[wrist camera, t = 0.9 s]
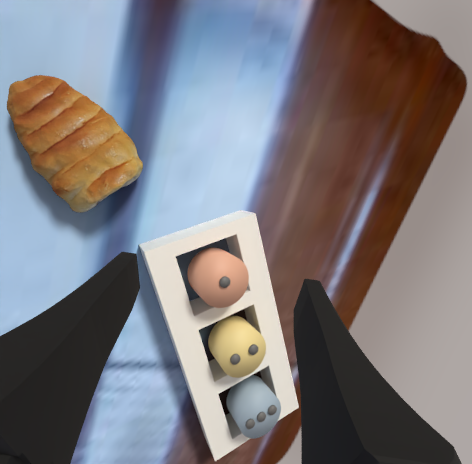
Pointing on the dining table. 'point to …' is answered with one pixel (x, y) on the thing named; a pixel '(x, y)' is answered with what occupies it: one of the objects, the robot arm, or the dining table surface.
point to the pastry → (72, 141)
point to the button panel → (201, 315)
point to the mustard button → (236, 346)
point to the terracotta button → (218, 277)
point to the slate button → (253, 406)
